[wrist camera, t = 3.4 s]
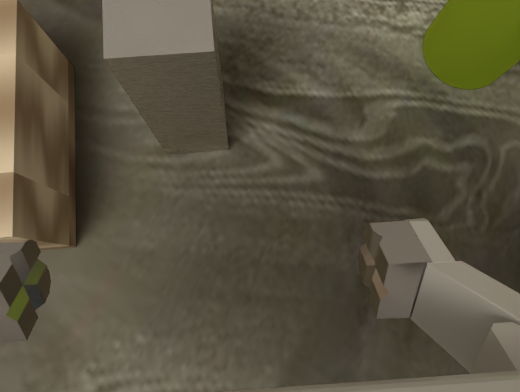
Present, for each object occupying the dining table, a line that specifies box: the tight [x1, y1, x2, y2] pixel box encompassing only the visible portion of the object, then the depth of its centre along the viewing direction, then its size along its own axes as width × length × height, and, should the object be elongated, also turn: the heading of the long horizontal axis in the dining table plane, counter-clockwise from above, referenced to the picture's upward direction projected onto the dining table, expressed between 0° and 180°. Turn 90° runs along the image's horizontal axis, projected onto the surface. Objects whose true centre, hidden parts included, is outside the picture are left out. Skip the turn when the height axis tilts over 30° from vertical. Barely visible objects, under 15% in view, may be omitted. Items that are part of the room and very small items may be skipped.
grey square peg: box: [102, 0, 229, 154], centre depth 21 cm, size 4×4×12 cm
